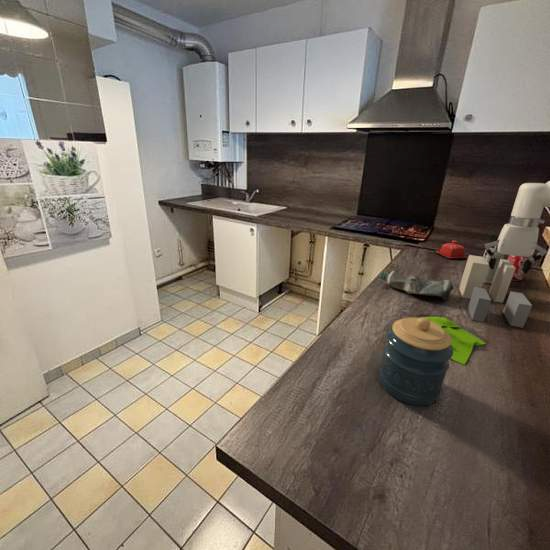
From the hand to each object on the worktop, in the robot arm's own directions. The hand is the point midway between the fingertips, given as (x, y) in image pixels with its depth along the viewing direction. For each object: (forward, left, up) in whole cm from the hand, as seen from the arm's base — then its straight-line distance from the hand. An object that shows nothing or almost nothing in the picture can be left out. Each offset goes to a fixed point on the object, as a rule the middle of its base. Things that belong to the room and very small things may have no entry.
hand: (507, 270), depth 103 cm
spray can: (+1, -18, -12) cm, 21 cm away
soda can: (-10, -26, -12) cm, 30 cm away
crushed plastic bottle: (+29, +7, -12) cm, 32 cm away
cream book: (+1, 0, -12) cm, 12 cm away
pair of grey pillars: (+5, +17, -12) cm, 21 cm away
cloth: (+21, +37, -12) cm, 44 cm away
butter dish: (+11, -48, -12) cm, 50 cm away
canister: (+30, +61, -12) cm, 69 cm away
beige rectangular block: (+9, 0, -12) cm, 15 cm away
